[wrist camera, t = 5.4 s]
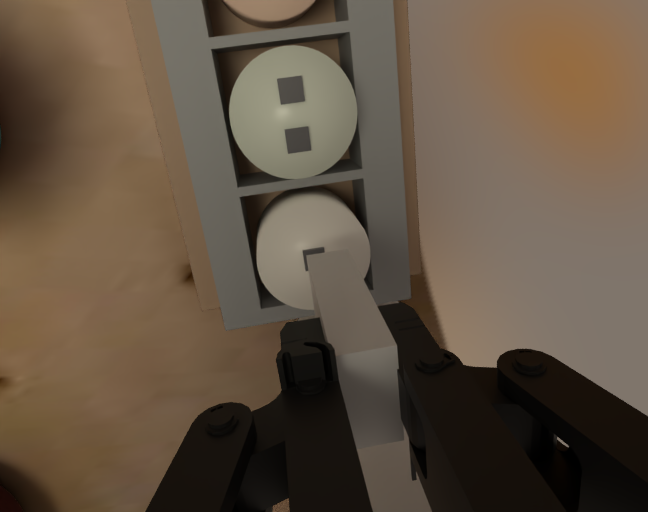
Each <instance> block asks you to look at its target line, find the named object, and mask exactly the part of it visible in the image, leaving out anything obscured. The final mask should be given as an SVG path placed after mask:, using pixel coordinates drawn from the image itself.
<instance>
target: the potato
mask: <svg viewBox="0 0 648 512" xmlns="http://www.w3.org/2000/svg"><path fill="white" fill-rule="evenodd" d="M0 512H23V510H22V508H21V506H20V504H19V503H18V502H17V500H16V499H15V498H14V497H13V495H11V494H10V493H9V492H8V491H7V490H6V489H4V488H3V487H2V486H1V485H0Z"/></svg>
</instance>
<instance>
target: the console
mask: <svg viewBox="0 0 648 512" xmlns="http://www.w3.org/2000/svg"><path fill="white" fill-rule="evenodd" d="M126 4H127V8H128V12H129V16H130V20H131V24H132V28H133V32H134V36H135V40H136V45H137V49H138V53H139V57H140V61H141V65H142V69H143V73H144V77H145V81H146V85H147V90H148V94H149V98H150V102H151V106H152V110H153V114H154V118H155V122H156V126H157V130H158V134H159V139H160V143H161V147H162V151H163V155H164V159H165V163H166V167H167V171H168V175H169V179H170V184H171V188H172V192H173V196H174V200H175V204H176V208H177V212H178V216H179V220H180V224H181V229H182V233H183V237H184V241H185V245H186V249H187V253H188V257H189V261H190V265H191V269H192V274H193V278H194V282H195V286H196V290H197V294H198V298H199V302H200V306H201V310H202V311H204V310H210V309H216V308H221V312H222V316H223V321H224V325H225V329H226V331H227V330H233V329H239V328H245V327H250V326H256V325H262V324H268V323H273V322H279V321H285V320H291V319H296V318H302V317H308V316H314V315H315V311H314V310H304V309H298V308H294V307H291V306H289V305H286V304H285V303H283V302H281V301H279V300H278V299H277V298H275V297H274V296H273V295H272V294H271V293H270V292H269V291H268V290H267V288H266V287H265V285H264V284H263V282H262V280H261V278H260V275H259V272H258V268H257V227H258V222H259V219H260V217H261V214H262V212H263V211H264V209H265V208H266V206H267V205H268V204H269V203H270V202H271V201H272V200H273V199H274V198H275V197H276V196H278V195H279V194H281V193H283V192H285V191H287V190H289V189H295V188H302V187H308V186H314V187H320V188H323V189H326V190H328V191H330V192H332V193H334V194H336V195H337V196H338V197H340V198H341V199H342V200H343V201H344V202H345V204H346V205H347V206H348V207H349V209H350V210H351V212H352V213H353V214H354V216H355V217H356V218H357V220H358V221H359V223H360V224H361V225H362V227H363V228H364V230H365V232H366V234H367V237H368V240H369V244H370V264H369V268H368V271H367V274H366V276H365V278H364V281H365V283H366V285H367V287H368V289H369V291H370V293H371V295H372V297H373V299H374V301H375V303H376V305H377V304H383V303H388V302H394V301H400V300H406V299H411V284H410V276H411V275H417V274H421V257H420V238H419V219H418V200H417V181H416V161H415V142H414V122H413V104H412V103H413V102H412V83H411V64H410V44H409V26H408V7H407V0H316V1H315V2H314V3H313V5H312V6H311V7H310V9H309V10H308V11H307V12H306V13H305V14H304V15H303V16H302V17H300V18H299V19H298V20H296V21H294V22H292V23H291V24H288V25H285V26H282V27H277V28H261V27H257V26H253V25H251V24H248V23H246V22H244V21H242V20H241V19H239V18H238V17H236V16H235V15H234V14H232V13H231V12H230V11H229V10H228V9H227V8H226V6H225V5H224V4H223V3H222V1H221V0H126ZM290 45H296V46H304V47H308V48H312V49H314V50H317V51H319V52H321V53H323V54H325V55H327V56H328V57H329V58H331V59H332V60H333V61H334V62H335V63H336V64H337V65H338V66H339V67H340V68H341V69H342V70H343V72H344V73H345V74H346V76H347V78H348V79H349V81H350V83H351V85H352V88H353V90H354V94H355V97H356V103H357V124H356V129H355V133H354V136H353V139H352V141H351V143H350V145H349V147H348V149H347V150H346V152H345V153H344V155H343V156H342V157H341V158H340V159H339V160H338V161H337V162H336V163H335V164H334V165H333V166H332V167H330V168H329V169H327V170H326V171H324V172H322V173H320V174H318V175H315V176H312V177H308V178H303V179H285V178H280V177H276V176H273V175H271V174H268V173H266V172H264V171H263V170H261V169H259V168H258V167H256V166H255V165H254V164H253V163H252V162H250V160H249V159H248V158H247V157H246V156H245V155H244V154H243V152H242V151H241V149H240V148H239V146H238V144H237V142H236V140H235V138H234V135H233V133H232V129H231V125H230V118H229V105H230V97H231V94H232V90H233V87H234V85H235V82H236V80H237V79H238V77H239V75H240V73H241V72H242V71H243V69H244V68H245V67H246V66H247V65H248V64H249V63H250V62H251V61H252V60H253V59H254V58H256V57H257V56H259V55H260V54H262V53H264V52H266V51H268V50H270V49H273V48H276V47H281V46H290Z"/></svg>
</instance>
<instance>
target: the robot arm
mask: <svg viewBox="0 0 648 512" xmlns="http://www.w3.org/2000/svg"><path fill="white" fill-rule="evenodd" d="M306 257H307V264H308V271H309V277H310V284H311V291H312V298H313V305H314V311H315V318H312V319H306V320H300V321H294V322H288V323H286V324H285V326H284V328H283V329H282V331H281V332H280V336H281V351H280V352H279V353H278V355H277V358H276V362H277V367H278V373H279V378H280V383H281V389H282V391H281V393H280V394H279V395H278V397H277V398H276V399H275V400H273V401H272V402H271V403H269V404H268V405H266V406H264V407H262V408H260V409H257V410H255V411H252V412H251V410H250V409H249V407H247V406H245V405H243V404H241V403H234V402H229V403H222V404H218V405H216V406H213V407H211V408H208V409H207V410H205V411H204V412H203V413H201V414H200V415H199V416H198V417H197V418H196V419H195V421H194V422H193V423H192V425H191V427H190V429H189V431H188V432H187V434H186V436H185V438H184V440H183V442H182V444H181V446H180V447H179V449H178V451H177V453H176V455H175V457H174V459H173V461H172V463H171V464H170V466H169V468H168V470H167V472H166V474H165V476H164V478H163V479H162V481H161V483H160V485H159V487H158V489H157V491H156V493H155V495H154V496H153V498H152V500H151V502H150V504H149V506H148V508H147V510H146V511H145V512H272V506H273V505H275V504H277V503H279V502H281V501H283V500H285V499H287V498H289V508H290V512H373V510H372V506H371V502H370V498H369V495H368V491H367V487H366V483H365V479H364V475H363V471H362V468H361V464H360V460H359V456H358V452H357V449H361V448H366V447H371V446H377V445H382V444H387V443H393V442H398V441H403V440H404V429H403V425H404V427H405V430H406V432H407V435H408V437H409V450H410V464H411V476H412V481H414V480H417V477H416V472H417V475H418V477H419V480H420V482H421V485H422V487H423V490H424V492H425V495H426V498H427V500H428V503H429V505H430V508H431V510H432V512H648V416H646V415H645V414H643V413H641V412H640V411H639V410H637V409H635V408H633V407H632V406H631V405H629V404H627V403H626V402H624V401H623V400H621V399H619V398H618V397H616V396H615V395H613V394H611V393H610V392H608V391H607V390H605V389H603V388H602V387H600V386H598V385H597V384H595V383H593V382H592V381H591V380H589V379H587V378H586V377H584V376H583V375H581V374H579V373H578V372H576V371H575V370H573V369H571V368H569V367H568V366H567V365H565V364H563V363H562V362H560V361H559V360H557V359H555V358H554V357H552V356H550V355H548V354H545V353H543V352H541V351H536V350H532V349H515V350H511V351H507V352H505V353H504V354H502V355H500V357H499V359H498V360H497V368H489V367H488V368H487V367H471V366H466V365H463V363H462V362H461V361H460V359H459V358H458V357H457V356H456V355H455V354H453V353H452V352H449V351H447V350H445V349H440V347H439V346H438V344H437V343H436V341H435V340H434V338H433V337H432V335H431V334H430V332H429V331H428V329H427V328H426V327H425V326H424V323H423V322H422V320H421V319H420V317H419V316H418V314H417V313H416V311H415V310H414V309H413V308H412V307H410V306H408V305H406V304H404V303H403V302H400V303H394V304H388V305H382V306H377V305H376V303H375V301H374V299H373V297H372V295H371V293H370V291H369V289H368V287H367V285H366V283H365V281H364V279H363V277H362V276H361V274H360V272H359V270H358V268H357V266H356V264H355V262H354V260H353V258H352V256H351V254H350V252H349V250H348V249H343V250H337V251H331V252H325V253H318V254H312V255H306ZM557 437H559V438H560V439H561V440H563V441H564V442H565V443H566V444H568V446H569V448H568V447H566V446H565V445H563V444H562V443H561V442H559V441H558V440H557Z"/></svg>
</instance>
